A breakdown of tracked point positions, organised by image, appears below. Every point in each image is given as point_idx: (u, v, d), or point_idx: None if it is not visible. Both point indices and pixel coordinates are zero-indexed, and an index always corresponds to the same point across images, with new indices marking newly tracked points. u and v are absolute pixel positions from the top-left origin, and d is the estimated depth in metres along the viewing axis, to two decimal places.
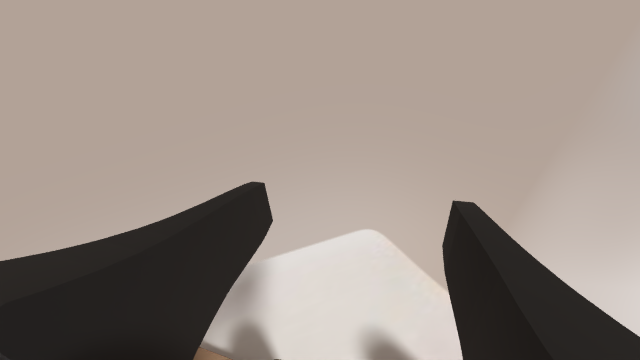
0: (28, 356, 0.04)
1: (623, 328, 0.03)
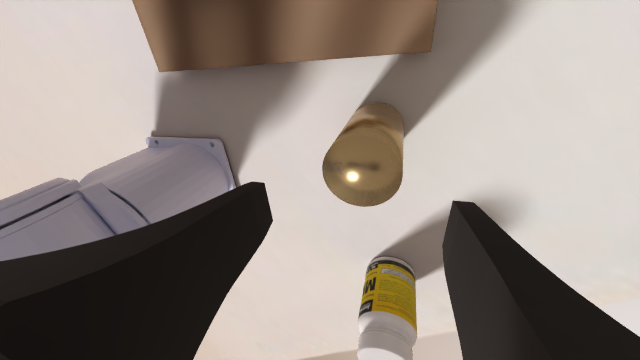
0: (28, 356, 0.04)
1: (623, 328, 0.03)
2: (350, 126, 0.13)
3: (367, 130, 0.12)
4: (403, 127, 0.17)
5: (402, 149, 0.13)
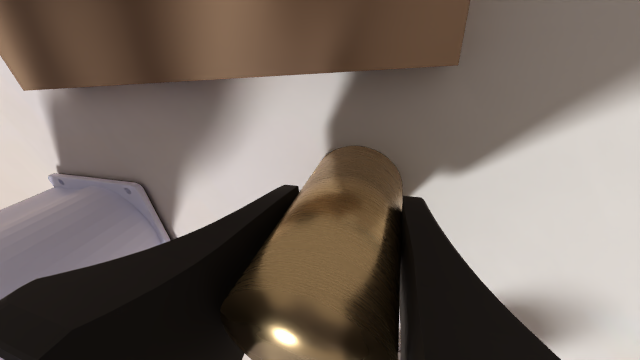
0: None
1: (497, 303, 0.04)
2: (289, 223, 0.06)
3: (313, 257, 0.05)
4: (401, 189, 0.10)
5: (398, 271, 0.06)
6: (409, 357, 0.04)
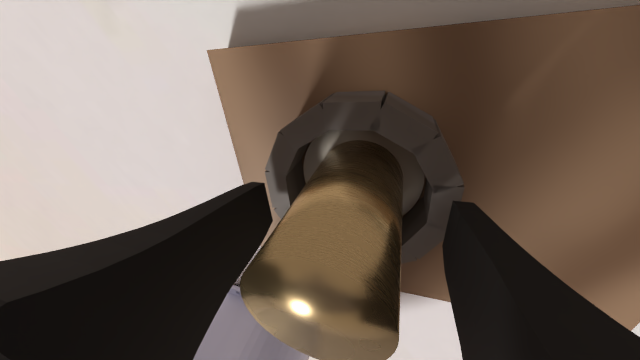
0: (28, 356, 0.04)
1: (623, 328, 0.03)
2: (298, 207, 0.07)
3: (321, 232, 0.05)
4: (402, 179, 0.10)
5: (399, 249, 0.07)
6: None
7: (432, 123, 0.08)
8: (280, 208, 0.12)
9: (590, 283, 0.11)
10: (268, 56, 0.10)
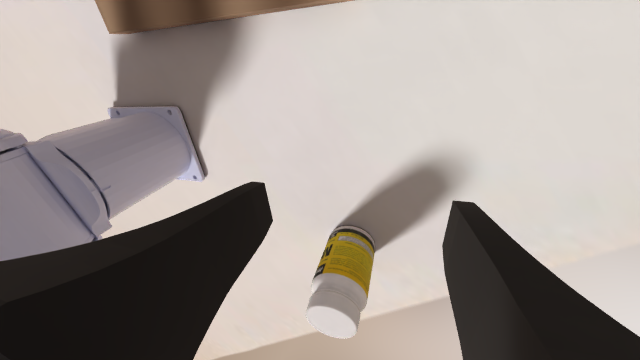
0: (28, 356, 0.04)
1: (623, 328, 0.03)
2: None
3: None
4: None
5: None
6: None
7: None
8: None
9: None
10: None
